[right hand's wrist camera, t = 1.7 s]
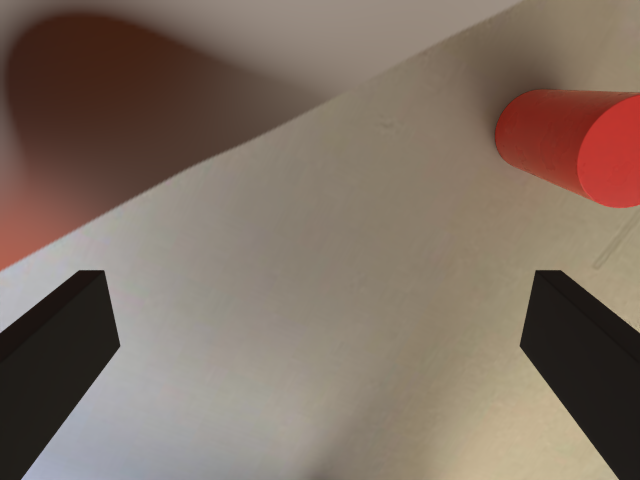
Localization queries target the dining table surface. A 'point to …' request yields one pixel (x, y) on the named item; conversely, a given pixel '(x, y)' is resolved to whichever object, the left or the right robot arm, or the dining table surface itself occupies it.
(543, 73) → the dining table surface
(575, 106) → the tin
